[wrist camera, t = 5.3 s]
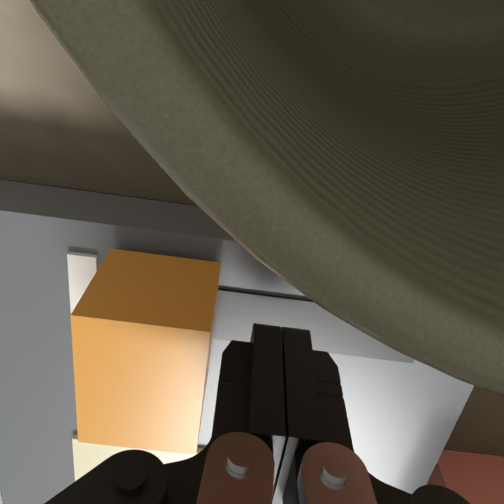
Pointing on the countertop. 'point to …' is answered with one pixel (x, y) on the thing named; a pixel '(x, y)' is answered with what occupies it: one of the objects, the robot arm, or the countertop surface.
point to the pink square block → (471, 476)
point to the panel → (225, 330)
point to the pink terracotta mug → (329, 148)
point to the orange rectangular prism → (144, 351)
